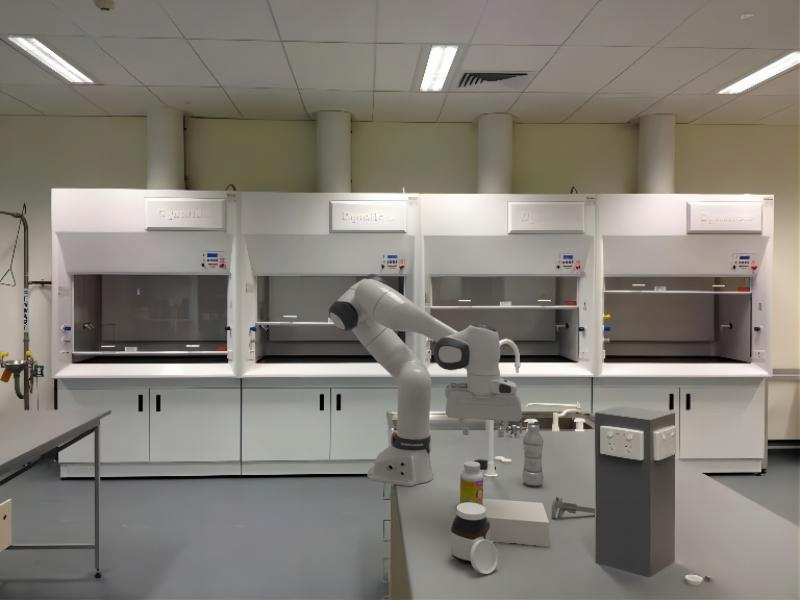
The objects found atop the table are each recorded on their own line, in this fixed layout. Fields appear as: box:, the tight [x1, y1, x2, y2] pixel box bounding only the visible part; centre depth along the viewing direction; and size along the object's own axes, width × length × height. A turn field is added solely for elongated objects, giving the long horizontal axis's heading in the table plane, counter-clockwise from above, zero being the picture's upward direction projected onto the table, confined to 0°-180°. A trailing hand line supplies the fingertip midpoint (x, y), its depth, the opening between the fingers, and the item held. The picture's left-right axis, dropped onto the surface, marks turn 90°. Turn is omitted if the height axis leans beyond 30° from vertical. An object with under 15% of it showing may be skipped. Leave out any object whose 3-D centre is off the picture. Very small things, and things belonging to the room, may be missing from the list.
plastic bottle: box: [522, 422, 544, 487], centre depth 163 cm, size 6×7×20 cm
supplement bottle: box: [459, 460, 484, 504], centre depth 144 cm, size 7×7×13 cm
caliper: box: [551, 496, 596, 520], centre depth 140 cm, size 20×1×6 cm, turn 101°
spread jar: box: [450, 502, 499, 575], centre depth 114 cm, size 12×11×12 cm
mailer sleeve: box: [482, 498, 550, 548], centre depth 129 cm, size 16×12×6 cm
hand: (483, 435), depth 133 cm, fingers open, 8 cm apart
